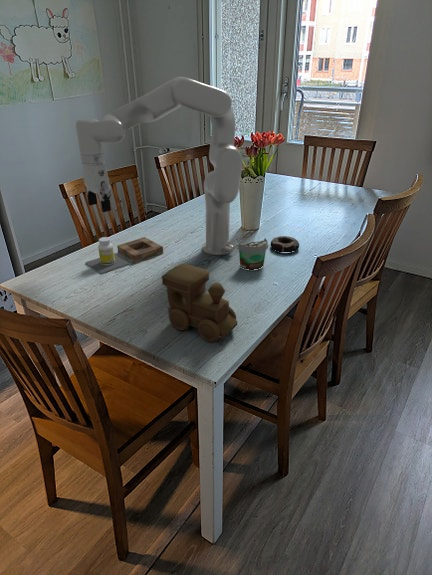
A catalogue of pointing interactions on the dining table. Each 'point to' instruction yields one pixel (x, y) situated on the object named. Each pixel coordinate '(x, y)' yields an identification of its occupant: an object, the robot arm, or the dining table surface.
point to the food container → (252, 254)
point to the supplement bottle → (106, 251)
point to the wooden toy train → (197, 303)
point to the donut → (284, 244)
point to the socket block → (148, 252)
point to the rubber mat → (104, 269)
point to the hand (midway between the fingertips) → (99, 207)
